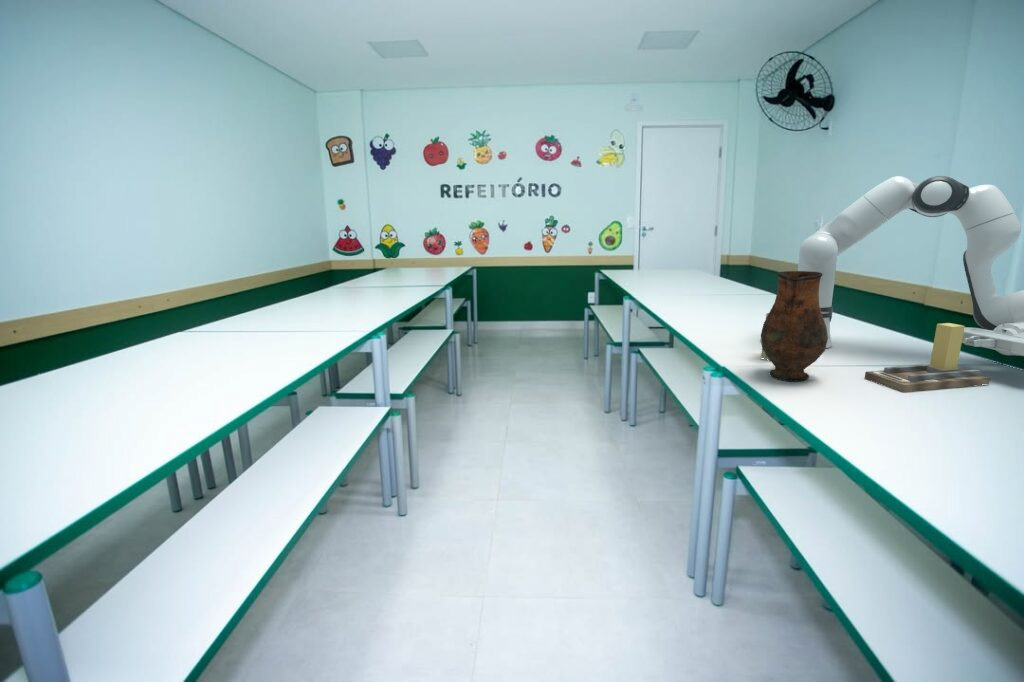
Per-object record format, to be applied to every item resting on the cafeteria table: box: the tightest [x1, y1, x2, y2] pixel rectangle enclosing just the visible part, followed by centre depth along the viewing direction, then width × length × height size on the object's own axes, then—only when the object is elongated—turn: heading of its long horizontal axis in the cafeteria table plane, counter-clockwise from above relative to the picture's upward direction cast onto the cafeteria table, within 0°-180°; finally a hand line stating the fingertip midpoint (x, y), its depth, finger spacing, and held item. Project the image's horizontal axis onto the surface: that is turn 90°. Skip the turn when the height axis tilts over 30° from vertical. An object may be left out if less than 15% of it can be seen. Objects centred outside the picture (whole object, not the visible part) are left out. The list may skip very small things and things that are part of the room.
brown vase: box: [760, 270, 828, 382], centre depth 142 cm, size 17×21×30 cm
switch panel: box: [864, 363, 991, 393], centre depth 135 cm, size 26×12×4 cm, turn 99°
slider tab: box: [927, 322, 966, 373], centre depth 134 cm, size 5×4×14 cm
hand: (969, 342), depth 135 cm, fingers closed
